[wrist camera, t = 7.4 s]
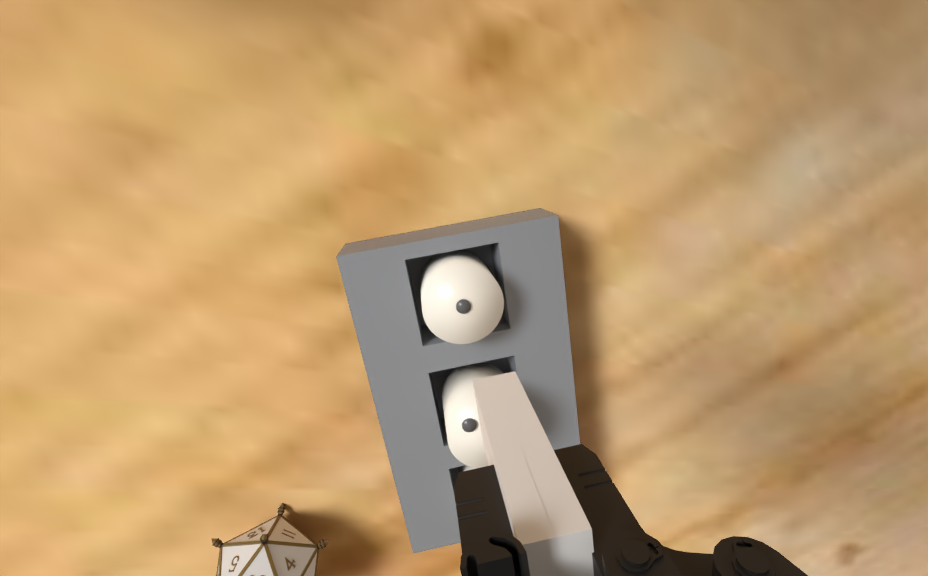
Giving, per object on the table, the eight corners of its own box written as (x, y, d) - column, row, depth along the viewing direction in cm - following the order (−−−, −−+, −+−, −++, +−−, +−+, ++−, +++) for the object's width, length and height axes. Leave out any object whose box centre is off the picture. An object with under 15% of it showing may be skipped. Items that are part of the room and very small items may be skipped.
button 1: (413, 255, 30) (414, 275, 25) (484, 242, 31) (498, 259, 26) (427, 322, 32) (430, 352, 27) (494, 308, 32) (509, 336, 27)
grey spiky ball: (307, 485, 40) (358, 530, 33) (295, 582, 39) (345, 652, 32) (194, 504, 34) (224, 565, 27) (178, 619, 34) (205, 715, 26)
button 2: (436, 369, 31) (440, 410, 26) (504, 355, 31) (522, 392, 26) (448, 429, 33) (454, 477, 28) (513, 415, 33) (531, 460, 28)
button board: (345, 243, 31) (336, 256, 27) (540, 208, 31) (558, 215, 28) (413, 513, 38) (413, 553, 34) (569, 478, 39) (586, 513, 35)
